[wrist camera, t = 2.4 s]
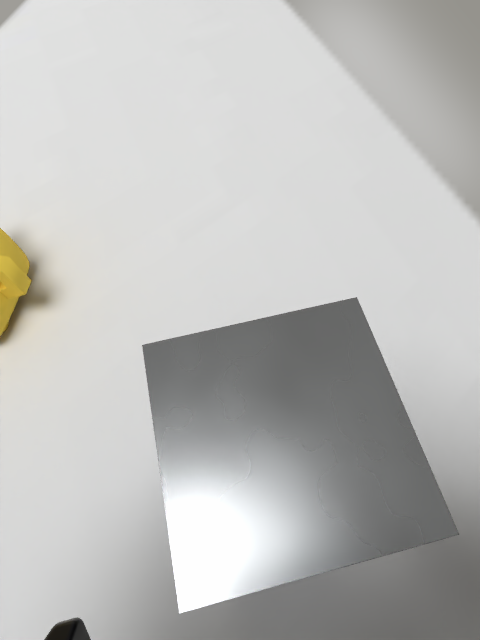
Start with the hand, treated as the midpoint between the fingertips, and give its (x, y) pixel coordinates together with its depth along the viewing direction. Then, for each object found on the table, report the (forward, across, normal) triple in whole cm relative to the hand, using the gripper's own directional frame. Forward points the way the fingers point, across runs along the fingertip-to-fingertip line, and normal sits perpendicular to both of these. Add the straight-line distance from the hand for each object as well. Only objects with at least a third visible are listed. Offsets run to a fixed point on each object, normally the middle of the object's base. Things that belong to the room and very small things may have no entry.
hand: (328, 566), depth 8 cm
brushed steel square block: (+9, 0, +5) cm, 10 cm away
